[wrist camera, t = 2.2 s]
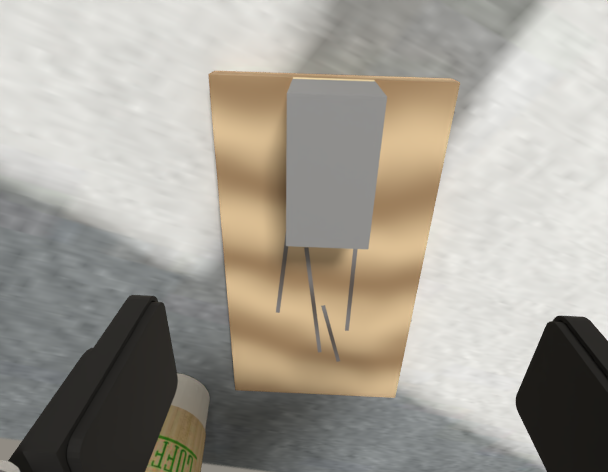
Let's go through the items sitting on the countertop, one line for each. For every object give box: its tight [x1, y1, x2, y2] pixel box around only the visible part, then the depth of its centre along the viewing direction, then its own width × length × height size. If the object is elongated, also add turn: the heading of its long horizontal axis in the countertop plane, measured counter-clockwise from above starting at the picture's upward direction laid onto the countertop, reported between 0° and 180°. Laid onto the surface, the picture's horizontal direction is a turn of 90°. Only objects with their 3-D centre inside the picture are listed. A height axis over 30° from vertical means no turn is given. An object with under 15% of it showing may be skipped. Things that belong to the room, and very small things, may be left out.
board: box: [209, 71, 460, 398], centre depth 29 cm, size 26×14×2 cm, turn 178°
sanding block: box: [286, 77, 387, 249], centre depth 22 cm, size 8×4×5 cm, turn 178°
